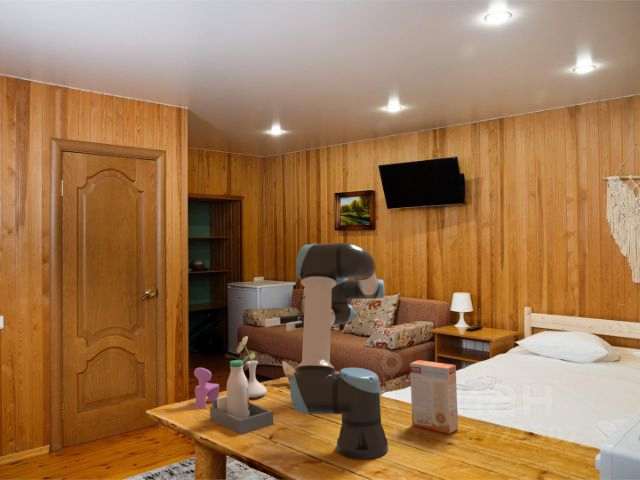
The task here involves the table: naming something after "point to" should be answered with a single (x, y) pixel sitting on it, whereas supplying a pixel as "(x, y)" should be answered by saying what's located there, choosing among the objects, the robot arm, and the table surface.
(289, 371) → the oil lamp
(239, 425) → the grey tray
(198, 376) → the toy chair
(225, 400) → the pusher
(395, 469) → the table surface
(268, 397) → the table surface
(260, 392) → the flower in vase
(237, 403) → the milk bottle
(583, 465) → the table surface
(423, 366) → the cracker box
